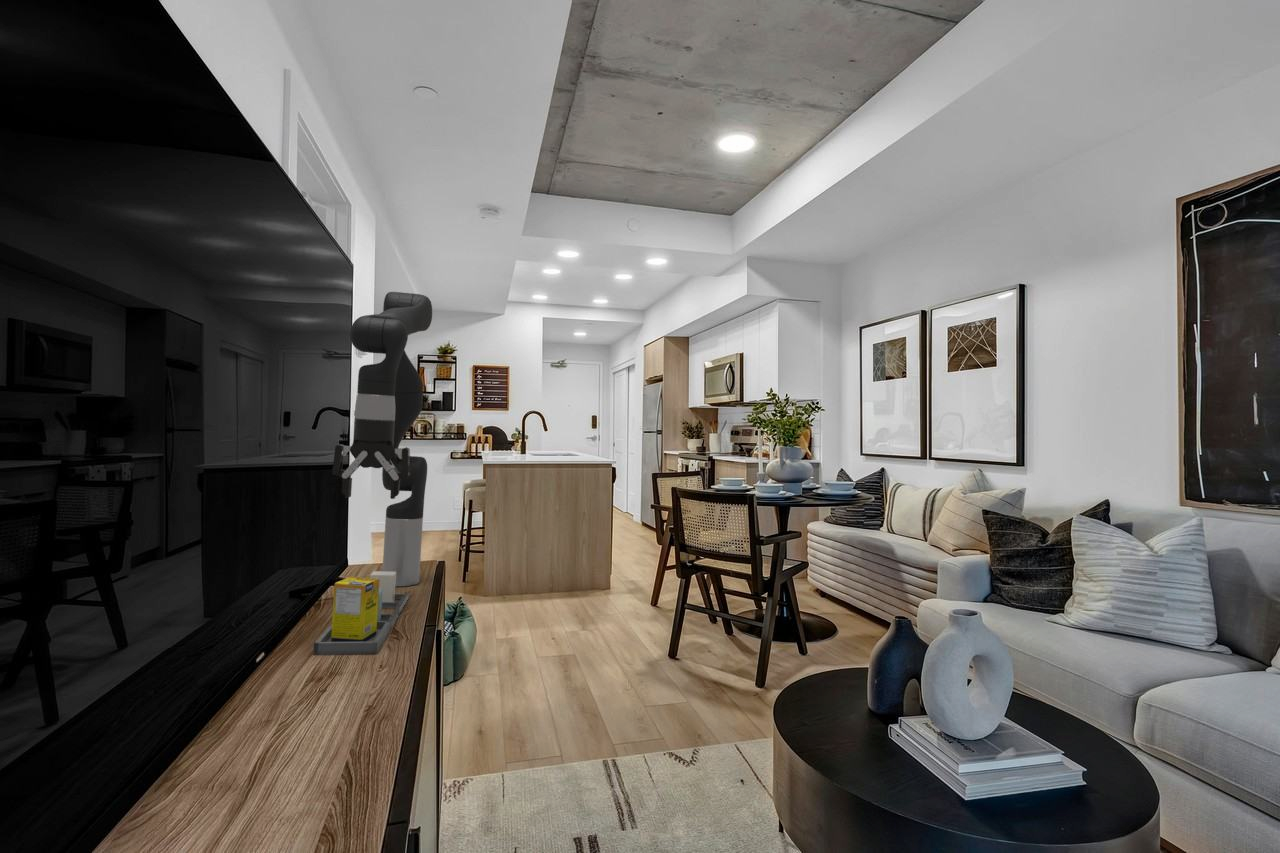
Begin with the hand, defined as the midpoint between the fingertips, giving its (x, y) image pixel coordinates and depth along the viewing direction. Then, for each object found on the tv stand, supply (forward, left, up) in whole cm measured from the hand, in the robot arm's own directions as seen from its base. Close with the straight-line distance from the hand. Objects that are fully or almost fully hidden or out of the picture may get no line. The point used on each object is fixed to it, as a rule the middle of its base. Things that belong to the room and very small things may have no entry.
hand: (370, 497), depth 129 cm
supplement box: (+8, 0, -26) cm, 27 cm away
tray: (+8, 0, -26) cm, 28 cm away
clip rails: (-11, 0, -26) cm, 28 cm away
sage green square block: (-2, 0, -26) cm, 26 cm away
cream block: (-19, 0, -26) cm, 32 cm away
